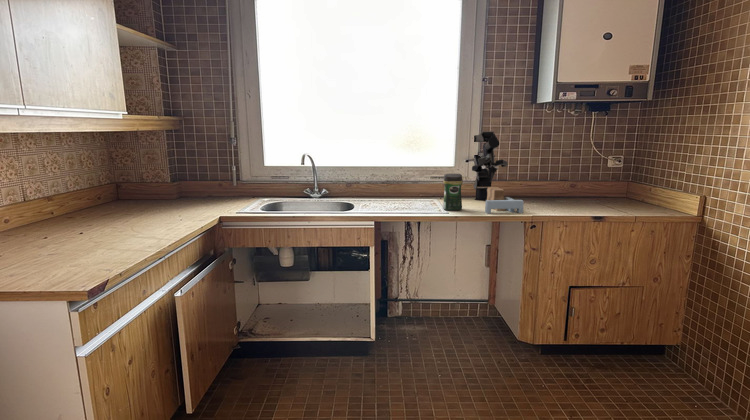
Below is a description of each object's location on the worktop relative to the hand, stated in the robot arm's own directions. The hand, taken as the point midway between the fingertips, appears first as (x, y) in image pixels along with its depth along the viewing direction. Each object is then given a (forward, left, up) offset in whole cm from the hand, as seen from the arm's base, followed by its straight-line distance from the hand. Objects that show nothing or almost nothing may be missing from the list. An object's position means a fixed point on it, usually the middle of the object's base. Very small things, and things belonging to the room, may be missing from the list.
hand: (490, 181), depth 238 cm
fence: (+10, -17, -13) cm, 23 cm away
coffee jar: (-13, -24, -13) cm, 30 cm away
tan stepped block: (+6, -10, -13) cm, 17 cm away
